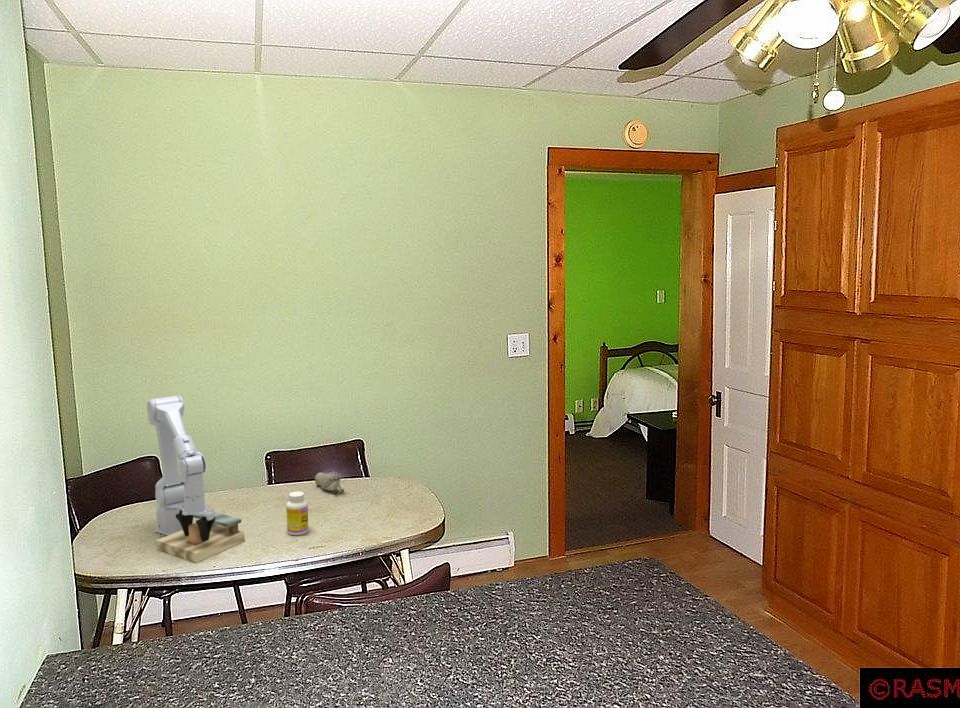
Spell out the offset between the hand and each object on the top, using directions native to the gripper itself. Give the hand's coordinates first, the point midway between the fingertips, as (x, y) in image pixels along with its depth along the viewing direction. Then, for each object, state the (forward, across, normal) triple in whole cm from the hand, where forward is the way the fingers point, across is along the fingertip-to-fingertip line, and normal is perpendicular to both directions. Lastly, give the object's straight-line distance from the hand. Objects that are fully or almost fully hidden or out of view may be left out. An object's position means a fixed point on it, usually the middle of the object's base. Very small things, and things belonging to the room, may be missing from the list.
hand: (196, 537), depth 223 cm
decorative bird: (+4, -2, +60) cm, 61 cm away
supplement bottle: (+4, +16, +26) cm, 31 cm away
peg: (+4, 0, 0) cm, 4 cm away
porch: (+4, -2, +3) cm, 5 cm away
